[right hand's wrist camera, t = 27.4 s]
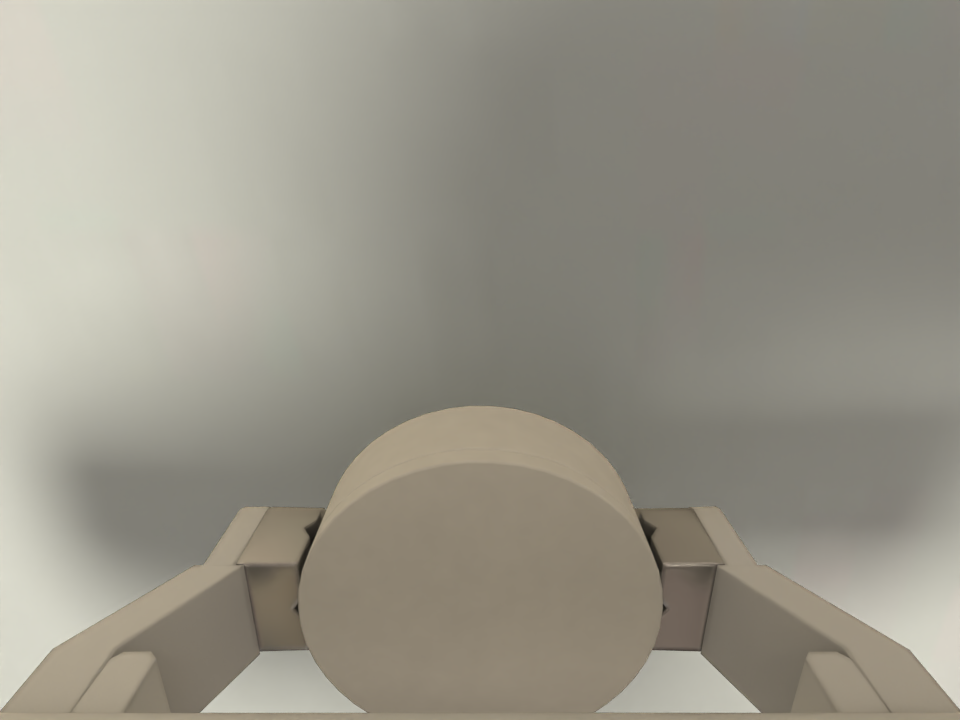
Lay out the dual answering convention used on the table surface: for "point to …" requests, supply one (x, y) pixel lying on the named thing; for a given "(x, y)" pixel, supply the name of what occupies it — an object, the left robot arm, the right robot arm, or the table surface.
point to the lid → (480, 571)
